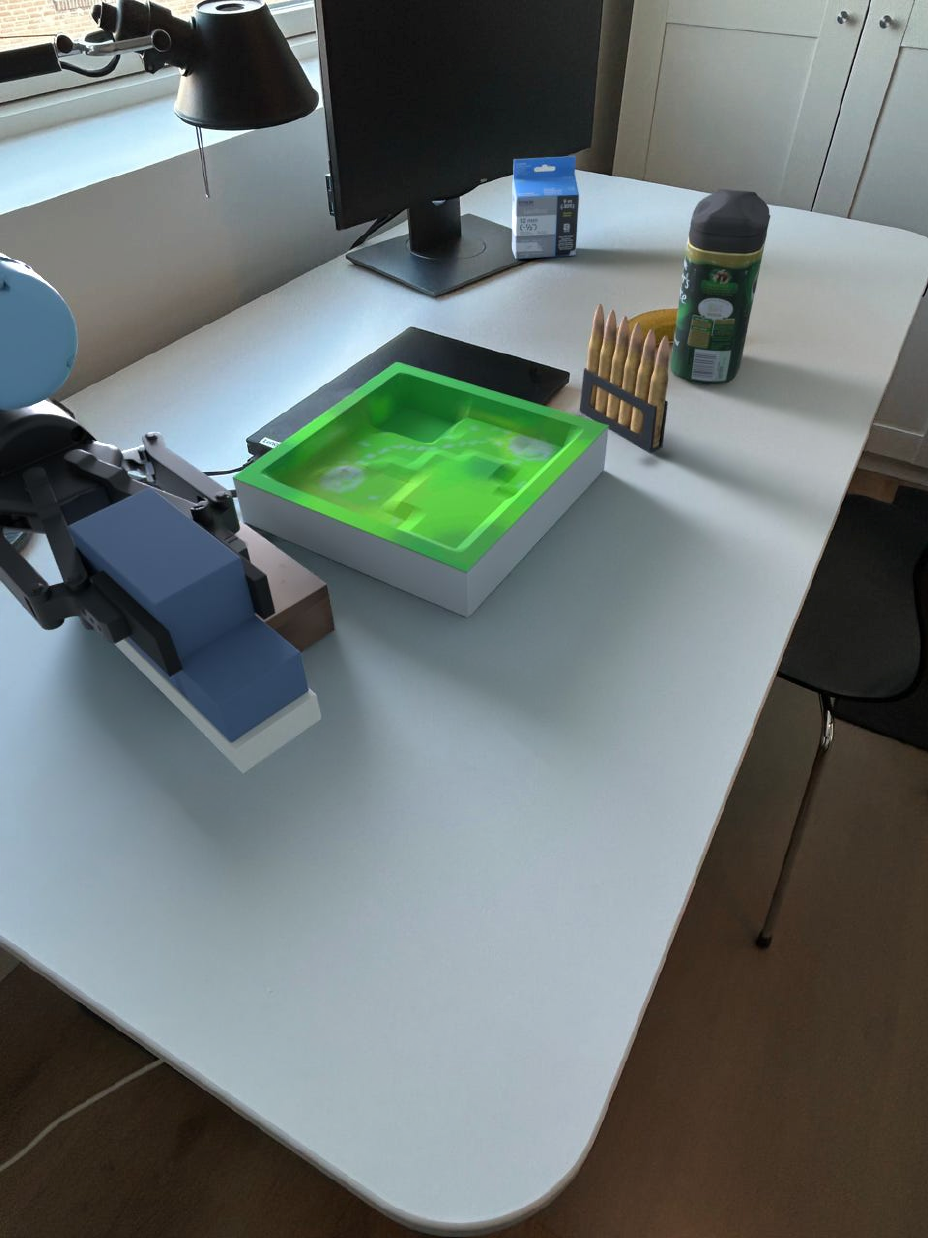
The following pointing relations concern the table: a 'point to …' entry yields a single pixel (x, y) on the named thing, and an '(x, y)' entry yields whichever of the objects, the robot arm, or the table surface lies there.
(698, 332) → the coffee jar
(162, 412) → the table surface
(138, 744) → the table surface
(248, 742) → the block
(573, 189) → the label tape box
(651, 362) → the ammunition clip
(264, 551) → the shelf
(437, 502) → the tray
